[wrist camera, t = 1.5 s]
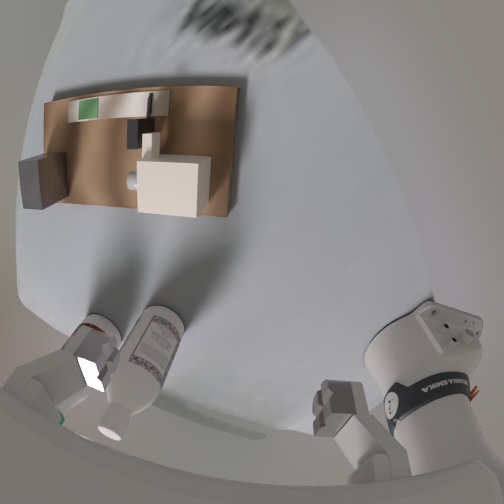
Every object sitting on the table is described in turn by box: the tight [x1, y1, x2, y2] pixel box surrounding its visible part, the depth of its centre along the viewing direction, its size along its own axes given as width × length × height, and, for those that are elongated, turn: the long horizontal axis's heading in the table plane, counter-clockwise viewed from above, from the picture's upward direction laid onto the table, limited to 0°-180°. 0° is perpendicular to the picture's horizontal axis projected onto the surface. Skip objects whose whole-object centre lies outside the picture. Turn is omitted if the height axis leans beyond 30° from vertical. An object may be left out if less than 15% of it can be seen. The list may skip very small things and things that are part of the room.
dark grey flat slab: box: [127, 97, 155, 149], centre depth 25 cm, size 1×5×4 cm, turn 175°
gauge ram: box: [127, 132, 211, 218], centre depth 27 cm, size 8×8×5 cm
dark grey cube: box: [19, 152, 69, 210], centre depth 28 cm, size 4×6×6 cm, turn 175°
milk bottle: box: [55, 314, 121, 425], centre depth 35 cm, size 8×8×20 cm
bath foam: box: [98, 306, 184, 440], centre depth 32 cm, size 7×7×20 cm
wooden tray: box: [44, 86, 239, 217], centre depth 29 cm, size 26×14×2 cm, turn 85°
